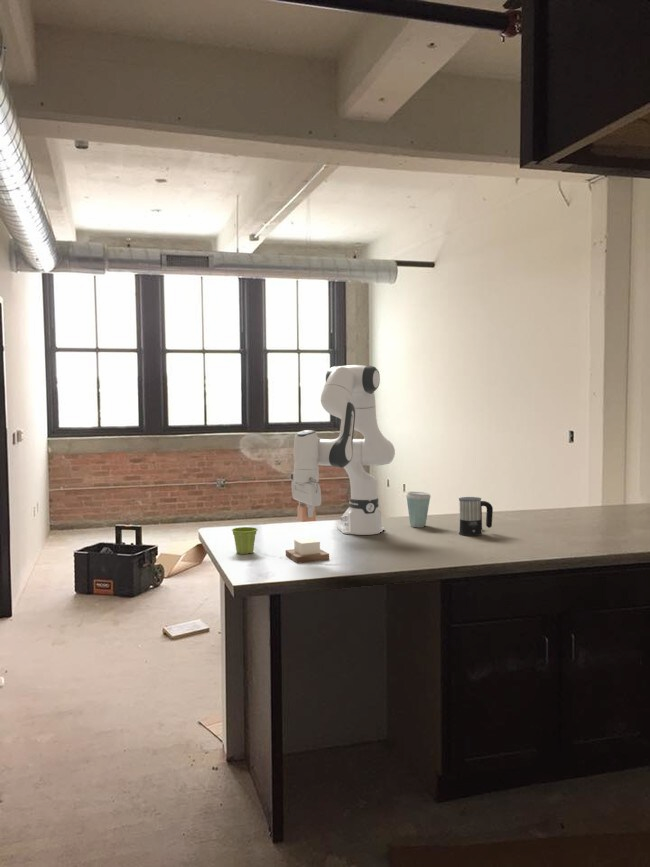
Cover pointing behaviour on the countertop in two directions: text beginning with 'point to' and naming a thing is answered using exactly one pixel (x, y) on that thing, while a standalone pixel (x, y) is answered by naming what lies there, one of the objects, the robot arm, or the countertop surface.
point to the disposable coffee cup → (418, 508)
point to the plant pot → (244, 539)
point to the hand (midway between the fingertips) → (306, 515)
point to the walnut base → (307, 556)
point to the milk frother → (473, 515)
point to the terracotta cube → (305, 513)
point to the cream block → (307, 546)
